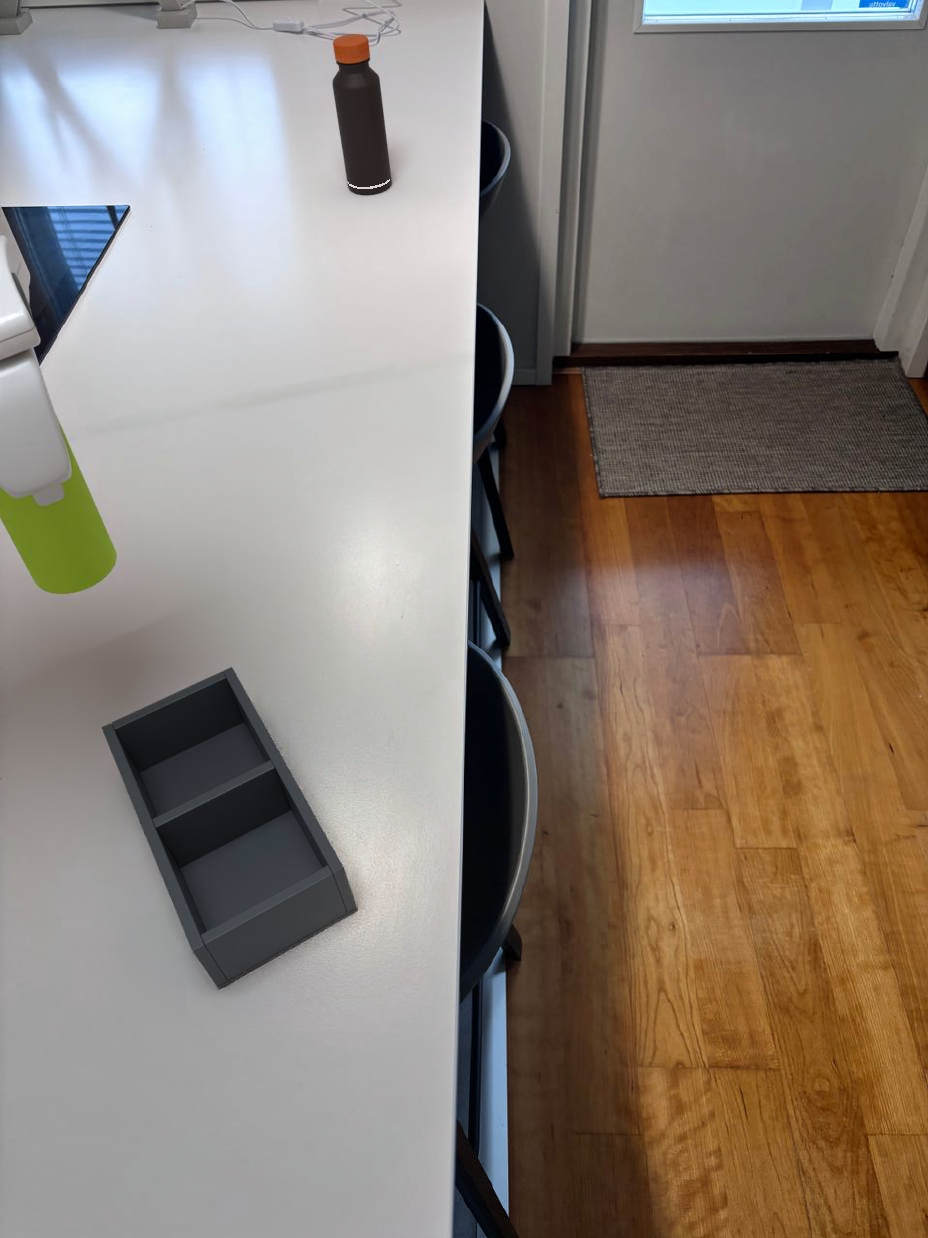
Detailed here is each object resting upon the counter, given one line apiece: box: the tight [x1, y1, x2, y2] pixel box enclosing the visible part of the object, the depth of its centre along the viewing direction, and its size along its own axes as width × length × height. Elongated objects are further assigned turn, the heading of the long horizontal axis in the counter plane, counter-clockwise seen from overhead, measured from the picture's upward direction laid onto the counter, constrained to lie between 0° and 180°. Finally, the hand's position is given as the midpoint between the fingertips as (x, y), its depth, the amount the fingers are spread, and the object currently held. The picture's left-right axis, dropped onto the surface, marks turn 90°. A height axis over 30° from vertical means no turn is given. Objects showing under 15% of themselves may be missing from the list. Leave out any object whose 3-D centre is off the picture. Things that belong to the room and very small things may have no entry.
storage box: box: [101, 666, 359, 990], centre depth 70 cm, size 11×20×6 cm, turn 31°
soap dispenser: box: [0, 412, 118, 595], centre depth 61 cm, size 6×7×20 cm
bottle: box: [331, 33, 392, 195], centre depth 138 cm, size 7×7×20 cm
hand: (37, 467), depth 62 cm, fingers closed on soap dispenser, 6 cm apart
